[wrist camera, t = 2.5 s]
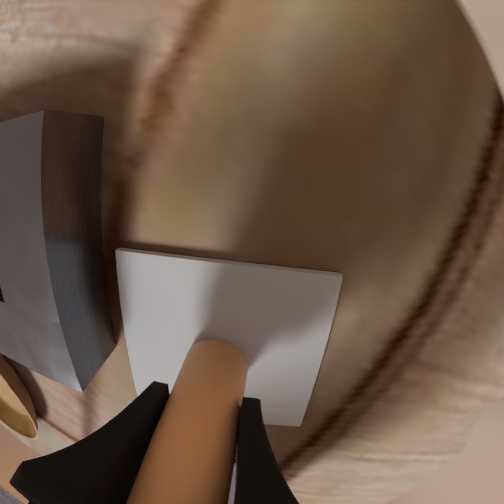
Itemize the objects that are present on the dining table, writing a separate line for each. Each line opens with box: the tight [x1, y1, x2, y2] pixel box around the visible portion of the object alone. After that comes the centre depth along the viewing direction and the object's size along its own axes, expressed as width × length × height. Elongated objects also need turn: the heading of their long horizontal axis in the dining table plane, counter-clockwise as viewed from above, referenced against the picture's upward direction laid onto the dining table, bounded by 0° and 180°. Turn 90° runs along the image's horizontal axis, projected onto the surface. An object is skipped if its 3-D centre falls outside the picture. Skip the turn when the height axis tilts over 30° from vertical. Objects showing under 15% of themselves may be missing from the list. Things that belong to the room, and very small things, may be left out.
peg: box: [126, 340, 248, 504], centre depth 9 cm, size 3×3×9 cm
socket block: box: [0, 110, 116, 392], centre depth 11 cm, size 12×12×4 cm
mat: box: [115, 247, 343, 427], centre depth 14 cm, size 10×10×1 cm
